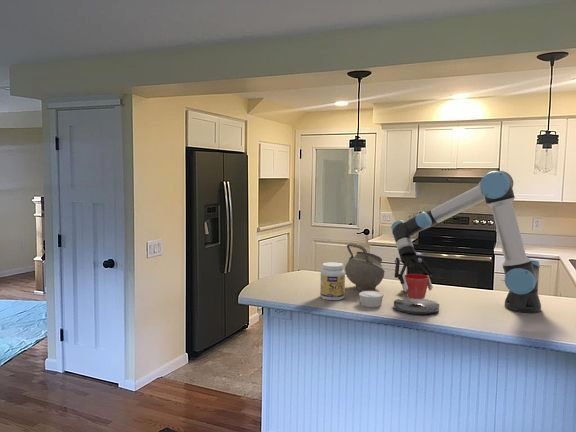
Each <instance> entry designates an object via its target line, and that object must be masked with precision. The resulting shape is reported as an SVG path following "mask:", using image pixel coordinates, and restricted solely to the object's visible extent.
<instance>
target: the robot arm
mask: <svg viewBox="0 0 576 432" xmlns="http://www.w3.org/2000/svg"><path fill="white" fill-rule="evenodd" d="M513 188H514V180H513V177H512V176H511V174H510V173H508V172H507V171H504V170H492V171H489V172H488V173H486V174H484V175H483V177H482V178H481V180H480V181H479V182H478V185H477V186H474V187H473V188H471V189H469V190H467V191H465V192H462V193H461V194H459V195H457V196H454V197H453V198H451V199H449V200H447V201H445V202H444V203H441V204H440V205H437V206H436V207H434V208H432V209H429V210H428V211H426V212H425V211H421V212H419V213H417V214H416V215H414V216H413V217H411V218H410V219H408V220H406V221H404V220H402V219H401V220H399V219H398V220H396V221H393V223H392V224H391V228H390V229H391V232H392V233H391V234H392V235H393V239H394V243H395V246H396V248H397V251H398V255H399V257H396V258H395V260H394V263H395V266H394V267H395V269H394V278H395V279H396V278H397V280H399V282H400V285H402V284H403V287H404V289H403V291H404V292H405V293H407V290H408V286H407V282H406V279H405V275H404V273H405V271H406V268H415V269H417V270H418V272H420V273H421V274H422V275H426V276H428V277H429V281H428V286H427V289H428V291H432V290H433V287H434V286H433V284H432V282H433V280H432V277H433V275H434V273H435V272H434V271H433V270H432V268H431V267H430V266H429V264H428V263H427V261H425V258H424V256H421V257H417V253H416V250H415V248H414V243H413V241H412V237H413V236H414V235H416V234H418V233H420V232H421V231H424V230H426V229H429V228H432V227H433V226H435V225H437V224H439V223H441V222H443V221H446V220H448V219H450V218H452V217H453V216H455V215H457V214H460V213H462V212H464V211H466V210H468V209H470V208H472V207H474V206H476V205H478V204H481V203H482V202H484V201H485V203H486V205H487V206H488V207H490V208H491V211H492V216H493V220H494V222H495V227H496V230H497V231H496V232H497V235H498V238H499V242H500V245H501V246H500V247H501V249H502V250H501V251H502V254H503V259H504V261H503V263H502V265H501V266H502V269H503V272H504V284H505V287H506V288H507V290H508V293H507V295H506V297H505V300H504V308H506V309H507V310H511V311H515V312H519V313H527V314H529V313H531V314H534V313H535V314H536V313H539V312H541V311H542V304H541V300H540V296H539V293H538V292H539V276H540V275H539V274H540V261H539V260H537V259H531V258H529V257H528V256H527V255H526V254H527V253H526V251H525V247H524V243H523V238H522V235H521V230H520V228H519V225H518V224H519V223H518V219H517V217H516V212H515V209H514V208H515V207H514V206H513V202H514V200H515V198H516V197H515V193H514V190H513ZM401 263H402V264H403V265H402V268H401V271H400V264H401ZM399 272H400V273H399Z"/></svg>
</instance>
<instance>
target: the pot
mask: <svg viewBox="0 0 576 432" xmlns="http://www.w3.org/2000/svg"><path fill="white" fill-rule="evenodd" d="M346 248H347V251H348V252H349V254H350V257H349V258H348V261H347V262H346V264H345V267H344V271H345V277H346V278H347V279H348V280H349V281H350V282H351V283H352V284H353V285H355V288H356V290H359V291H362V292H363V291H376V287H378V286H379V285H380V284H381V283H382V281H383V279H384V277H385V273H386V272H385V270H384V268H383V265H382V262H383V258H382V257H380V256H378V255H376V254H374V253H370V252H368V251H367V249H366V248H365V247H364V246H362V245H360V244H357V243H353V242H351V243H350V242H349V243H347V245H346ZM351 248H357V249H360V250H362V251H356V254H355V256H354V255H353V251H352V250H351Z"/></svg>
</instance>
